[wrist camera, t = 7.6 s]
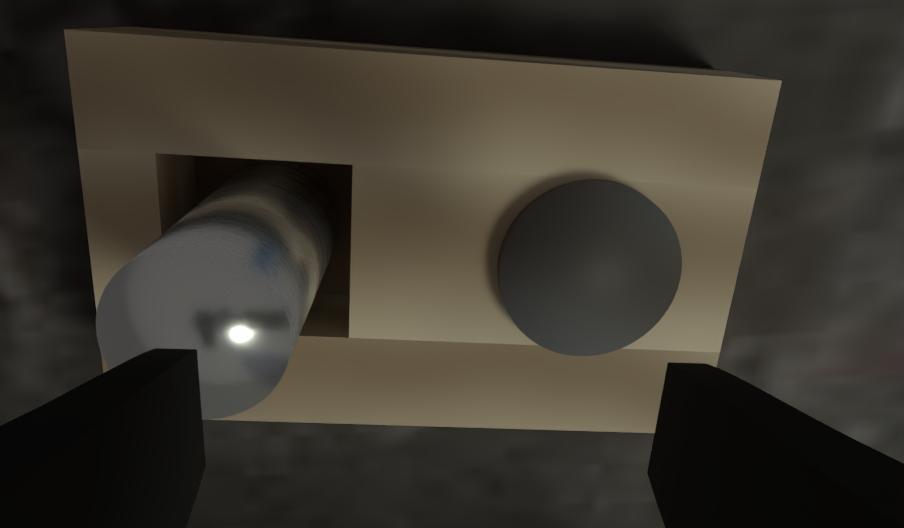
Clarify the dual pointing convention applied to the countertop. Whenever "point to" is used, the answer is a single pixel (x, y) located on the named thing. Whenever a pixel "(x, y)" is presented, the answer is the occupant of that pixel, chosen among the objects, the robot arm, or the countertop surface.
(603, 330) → the bore block
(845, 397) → the countertop surface
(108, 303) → the pin
